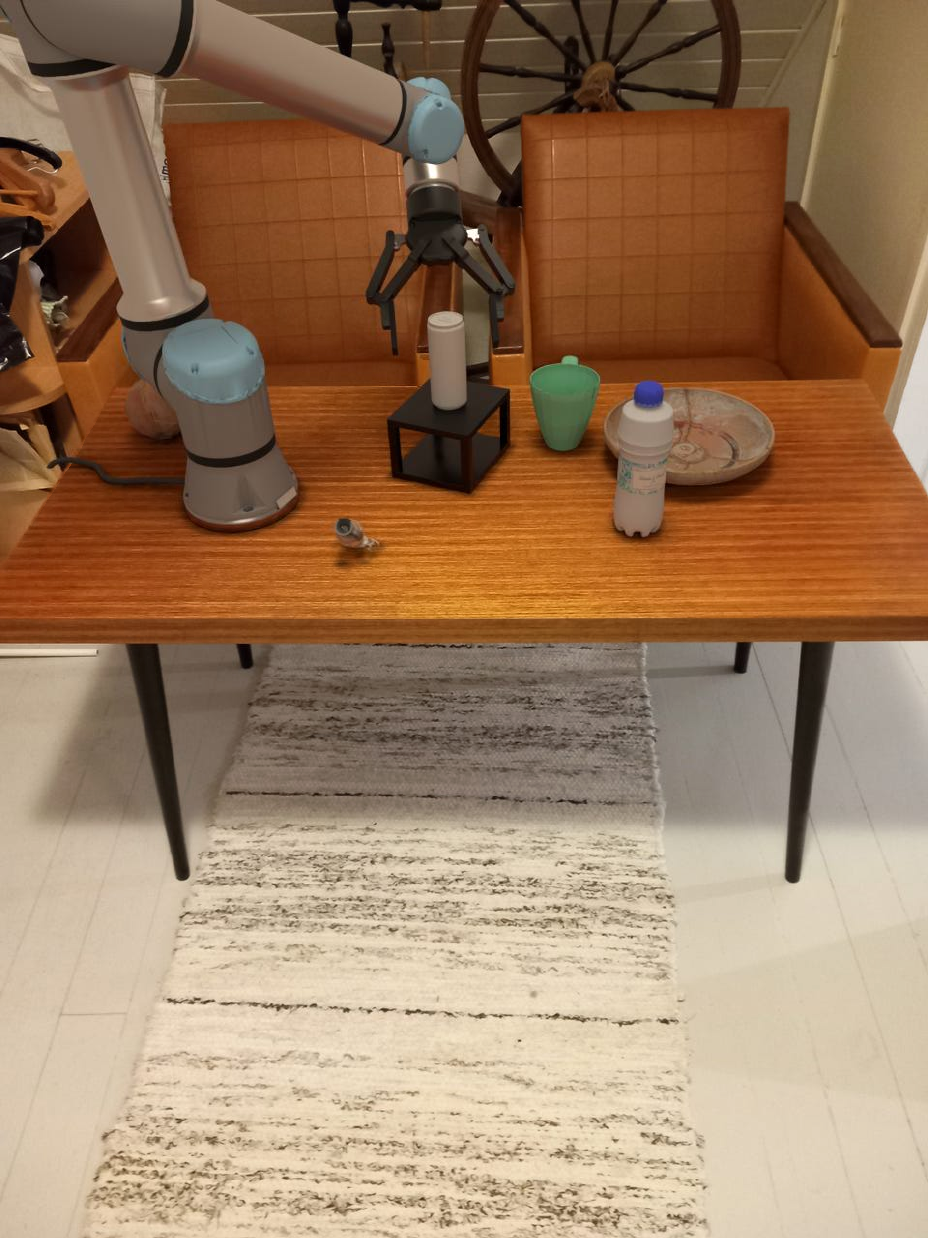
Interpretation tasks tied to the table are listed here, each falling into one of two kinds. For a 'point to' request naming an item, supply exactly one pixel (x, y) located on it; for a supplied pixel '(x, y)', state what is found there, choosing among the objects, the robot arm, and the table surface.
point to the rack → (450, 438)
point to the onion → (150, 412)
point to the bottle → (643, 460)
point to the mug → (564, 401)
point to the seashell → (351, 533)
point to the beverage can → (447, 360)
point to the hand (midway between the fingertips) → (445, 348)
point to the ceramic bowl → (707, 435)
